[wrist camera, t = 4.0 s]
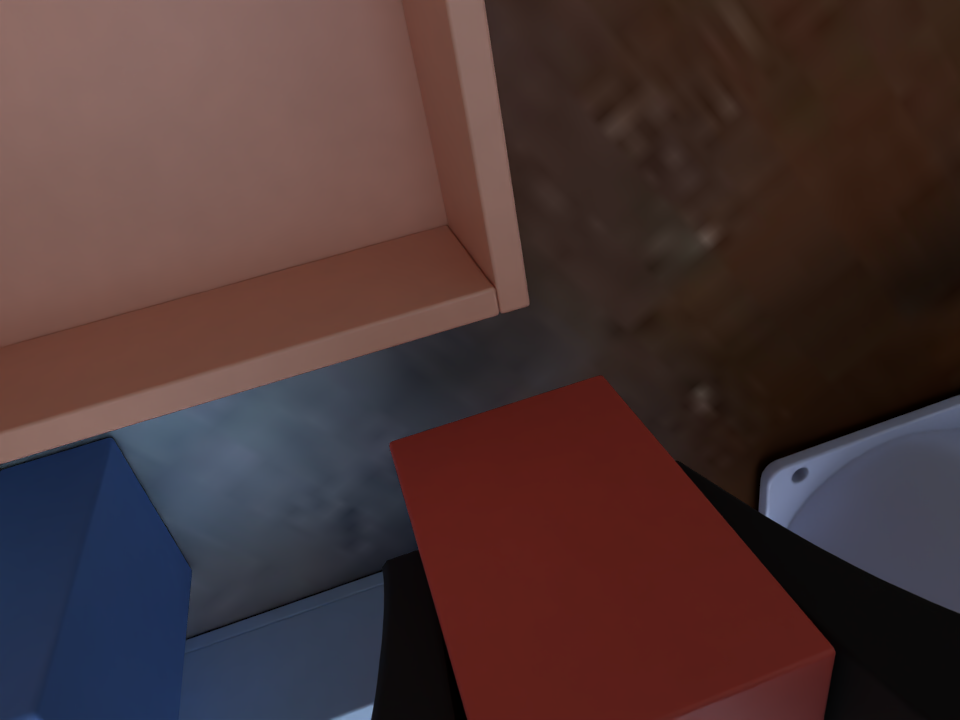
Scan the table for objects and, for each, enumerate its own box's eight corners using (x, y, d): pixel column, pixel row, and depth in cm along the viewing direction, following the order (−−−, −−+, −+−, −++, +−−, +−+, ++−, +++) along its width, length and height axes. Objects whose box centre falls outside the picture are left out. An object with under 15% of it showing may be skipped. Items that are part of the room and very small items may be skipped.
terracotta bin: (356, -374, 9) (407, -529, 6) (471, 233, 13) (531, 307, 11) (-604, -244, 7) (-1136, -371, 4) (-103, 394, 12) (-212, 529, 9)
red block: (602, 372, 12) (838, 649, 7) (616, 527, 15) (807, 823, 10) (387, 441, 12) (488, 792, 7) (435, 592, 14) (538, 943, 9)
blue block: (113, 434, 13) (34, 714, 8) (193, 570, 16) (169, 858, 11) (-108, 500, 13) (-334, 845, 8) (8, 632, 15) (-111, 968, 10)
